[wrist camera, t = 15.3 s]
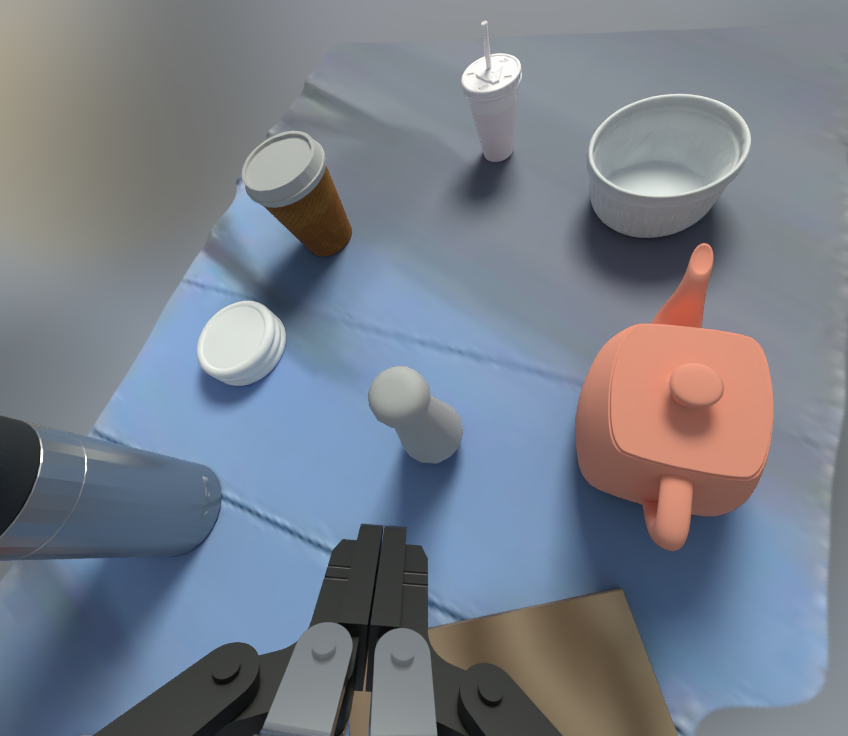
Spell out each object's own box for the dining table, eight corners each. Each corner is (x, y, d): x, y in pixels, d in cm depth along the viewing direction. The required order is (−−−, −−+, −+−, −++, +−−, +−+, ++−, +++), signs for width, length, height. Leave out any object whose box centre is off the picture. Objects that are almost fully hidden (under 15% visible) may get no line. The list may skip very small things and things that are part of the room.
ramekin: (595, 261, 42) (605, 211, 36) (570, 171, 47) (575, 115, 41) (740, 233, 39) (777, 175, 33) (696, 142, 44) (721, 76, 38)
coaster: (213, 397, 48) (190, 386, 44) (217, 326, 52) (197, 312, 49) (289, 374, 46) (271, 362, 43) (287, 304, 50) (270, 288, 47)
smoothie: (515, 126, 52) (507, -4, 40) (531, 157, 49) (529, 28, 37) (467, 145, 53) (446, 23, 41) (481, 177, 50) (462, 56, 38)
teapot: (726, 575, 29) (836, 592, 18) (556, 526, 33) (564, 517, 22) (734, 332, 35) (818, 240, 25) (590, 316, 39) (610, 231, 29)
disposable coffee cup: (307, 279, 51) (246, 209, 40) (289, 231, 55) (231, 156, 45) (373, 243, 50) (329, 163, 40) (350, 198, 55) (305, 114, 44)
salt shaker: (479, 443, 37) (452, 397, 26) (429, 481, 37) (380, 451, 25) (443, 397, 40) (405, 336, 28) (397, 431, 40) (339, 385, 28)
